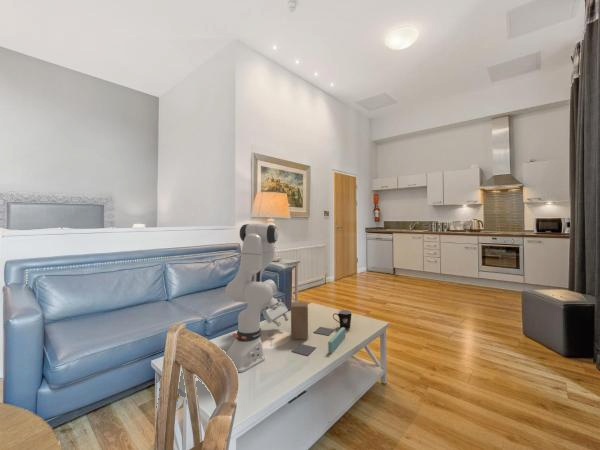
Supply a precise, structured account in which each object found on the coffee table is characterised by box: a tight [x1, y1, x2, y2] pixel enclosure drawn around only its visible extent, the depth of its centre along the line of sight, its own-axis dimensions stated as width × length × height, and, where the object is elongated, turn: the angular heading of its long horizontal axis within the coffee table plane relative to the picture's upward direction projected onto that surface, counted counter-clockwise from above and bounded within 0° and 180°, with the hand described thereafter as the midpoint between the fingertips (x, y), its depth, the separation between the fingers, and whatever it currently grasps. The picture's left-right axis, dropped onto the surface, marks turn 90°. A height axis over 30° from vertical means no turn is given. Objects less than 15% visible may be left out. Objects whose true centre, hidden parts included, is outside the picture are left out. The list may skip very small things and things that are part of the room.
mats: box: [290, 326, 335, 357], centre depth 162 cm, size 38×10×1 cm, turn 152°
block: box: [290, 301, 309, 341], centre depth 166 cm, size 10×10×20 cm
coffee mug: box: [332, 309, 353, 330], centre depth 182 cm, size 12×9×10 cm
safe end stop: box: [327, 327, 346, 355], centre depth 155 cm, size 22×2×6 cm, turn 152°
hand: (283, 323), depth 172 cm, fingers open, 8 cm apart
